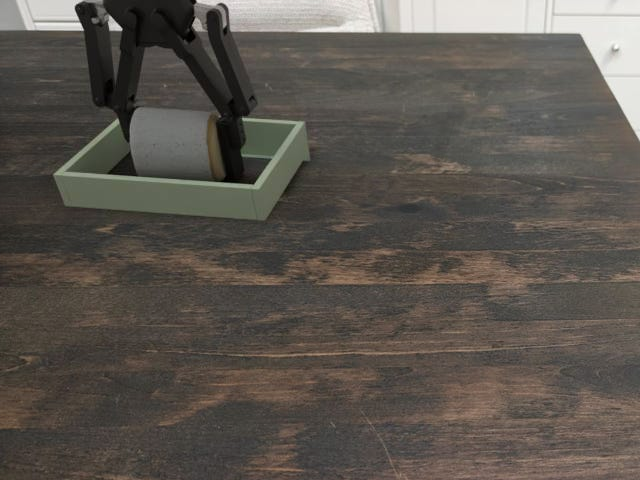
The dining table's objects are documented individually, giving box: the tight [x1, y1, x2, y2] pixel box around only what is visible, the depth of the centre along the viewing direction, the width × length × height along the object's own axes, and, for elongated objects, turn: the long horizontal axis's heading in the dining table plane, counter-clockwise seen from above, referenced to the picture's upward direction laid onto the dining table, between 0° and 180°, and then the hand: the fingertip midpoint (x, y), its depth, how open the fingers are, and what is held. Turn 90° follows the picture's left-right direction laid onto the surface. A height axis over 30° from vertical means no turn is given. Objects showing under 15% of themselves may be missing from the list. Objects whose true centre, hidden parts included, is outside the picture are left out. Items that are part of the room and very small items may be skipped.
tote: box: [52, 115, 311, 222], centre depth 79 cm, size 21×16×5 cm
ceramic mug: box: [130, 106, 228, 182], centre depth 77 cm, size 11×8×8 cm
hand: (194, 172), depth 79 cm, fingers closed on ceramic mug, 9 cm apart
